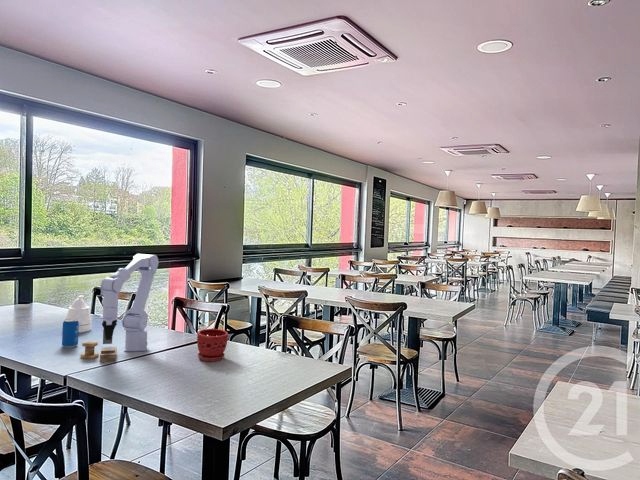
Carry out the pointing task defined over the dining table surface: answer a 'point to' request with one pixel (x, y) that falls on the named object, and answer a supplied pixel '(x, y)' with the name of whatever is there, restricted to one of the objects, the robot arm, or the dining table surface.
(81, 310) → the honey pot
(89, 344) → the spool
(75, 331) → the beverage can
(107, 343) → the grey rectangular block
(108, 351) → the block with rectangular opening
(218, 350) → the plant pot
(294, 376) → the dining table surface
